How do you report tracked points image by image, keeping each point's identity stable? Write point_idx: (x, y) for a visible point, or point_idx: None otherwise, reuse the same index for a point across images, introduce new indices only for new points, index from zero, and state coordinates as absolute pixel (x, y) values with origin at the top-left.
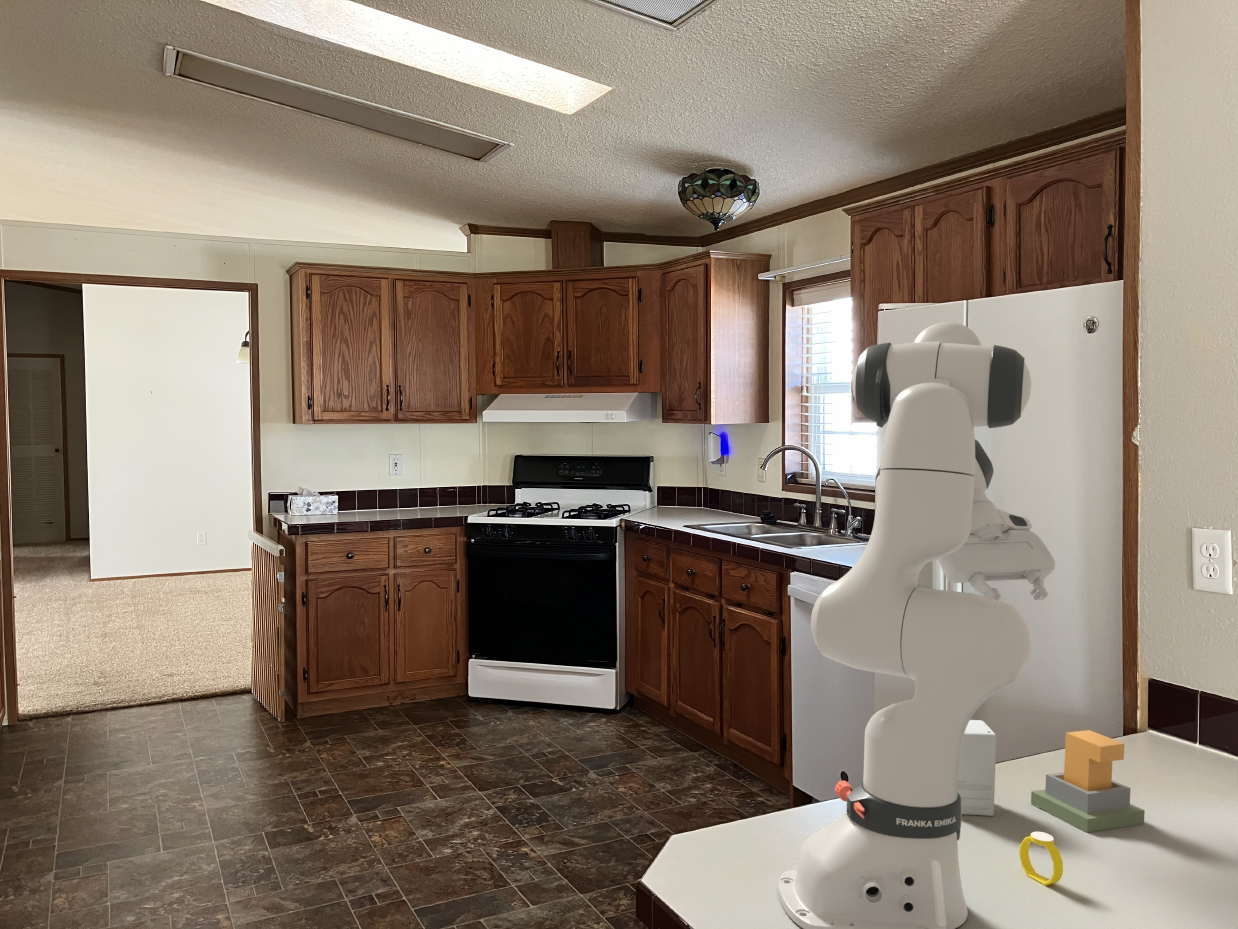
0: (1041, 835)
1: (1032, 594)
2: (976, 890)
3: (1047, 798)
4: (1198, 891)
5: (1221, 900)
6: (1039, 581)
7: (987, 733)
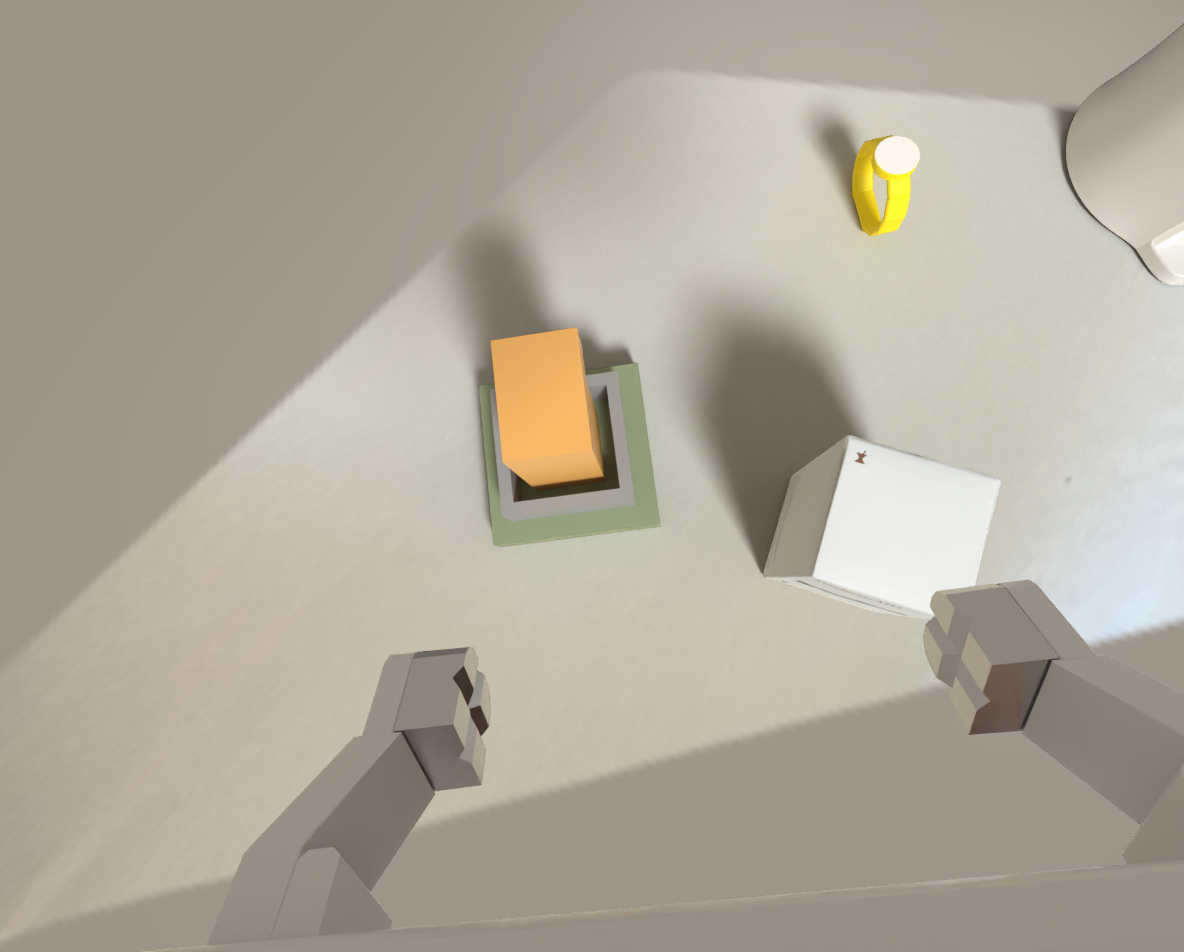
0: (896, 157)
1: (482, 748)
2: (1011, 189)
3: (650, 477)
4: (610, 144)
5: (597, 115)
6: (356, 791)
7: (871, 448)
